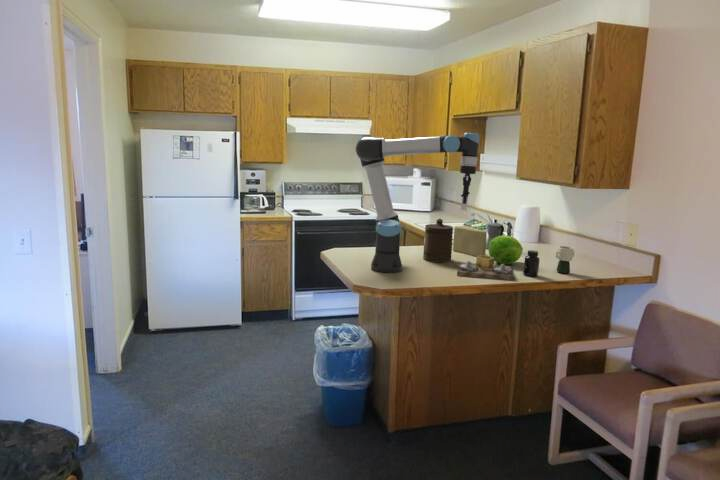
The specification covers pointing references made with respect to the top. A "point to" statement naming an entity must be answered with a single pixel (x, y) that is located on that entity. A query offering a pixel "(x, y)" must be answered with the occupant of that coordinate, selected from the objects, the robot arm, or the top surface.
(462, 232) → the beige rectangular block
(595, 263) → the top surface
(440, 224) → the wooden container
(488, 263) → the faceted octagonal washer
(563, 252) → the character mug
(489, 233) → the coffeepot
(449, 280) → the top surface
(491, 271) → the gear board
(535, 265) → the supplement bottle
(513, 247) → the lettuce
